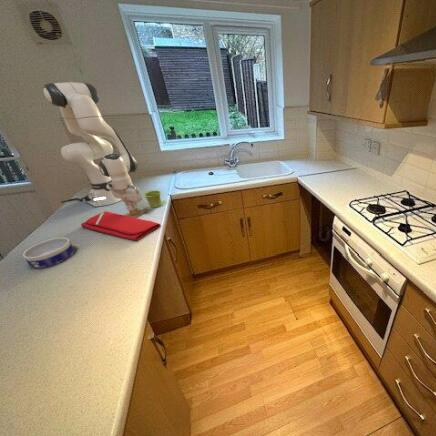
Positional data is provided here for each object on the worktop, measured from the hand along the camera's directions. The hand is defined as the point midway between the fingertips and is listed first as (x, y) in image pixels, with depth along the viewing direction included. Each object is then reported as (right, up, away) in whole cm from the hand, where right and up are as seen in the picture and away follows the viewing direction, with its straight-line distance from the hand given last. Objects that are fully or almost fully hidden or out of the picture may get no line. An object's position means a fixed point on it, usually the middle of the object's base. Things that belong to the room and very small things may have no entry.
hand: (131, 206), depth 140 cm
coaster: (0, -5, +3) cm, 5 cm away
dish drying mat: (+2, -12, -11) cm, 17 cm away
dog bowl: (-13, -25, -33) cm, 44 cm away
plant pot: (+8, +1, +12) cm, 14 cm away
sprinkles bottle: (0, -4, +2) cm, 5 cm away
